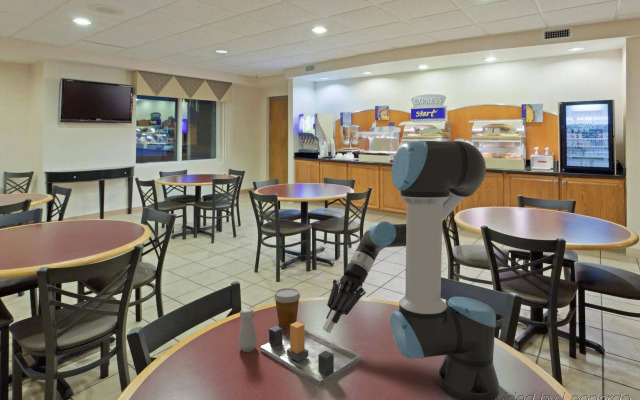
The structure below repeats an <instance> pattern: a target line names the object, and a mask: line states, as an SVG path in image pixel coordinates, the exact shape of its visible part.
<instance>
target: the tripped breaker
mask: <svg viewBox="0 0 640 400" xmlns="http://www.w3.org/2000/svg"><path fill="white" fill-rule="evenodd" d="M305 329H306V327H305V324H304V323H302V322H301V321H298V320H297V321H296V322H295V323H293V324H290V328H289V333H290V348H289V349H287V356H289V357H290V358H292V359H294V360H296V361H297V362H299V361H301V360H303V359H305V358H307V357H308V350H306V349H305Z"/></svg>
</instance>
